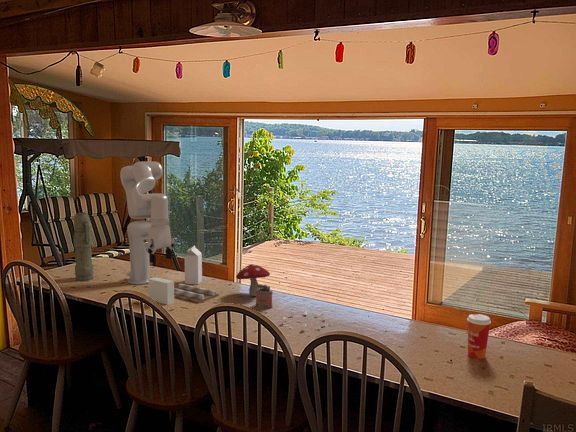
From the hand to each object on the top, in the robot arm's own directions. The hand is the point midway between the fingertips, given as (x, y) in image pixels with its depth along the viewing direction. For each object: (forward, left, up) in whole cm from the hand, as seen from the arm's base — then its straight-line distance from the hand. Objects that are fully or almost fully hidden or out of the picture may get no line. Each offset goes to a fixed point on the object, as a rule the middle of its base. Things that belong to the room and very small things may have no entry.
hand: (160, 260), depth 225 cm
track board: (+5, +14, -19) cm, 24 cm away
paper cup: (+134, +18, -19) cm, 136 cm away
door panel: (0, 0, -19) cm, 19 cm away
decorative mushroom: (+29, +31, -19) cm, 47 cm away
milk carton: (-9, +31, -19) cm, 38 cm away
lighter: (+43, +20, -19) cm, 51 cm away
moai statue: (-61, +4, -19) cm, 65 cm away
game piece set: (+68, +13, -20) cm, 72 cm away
